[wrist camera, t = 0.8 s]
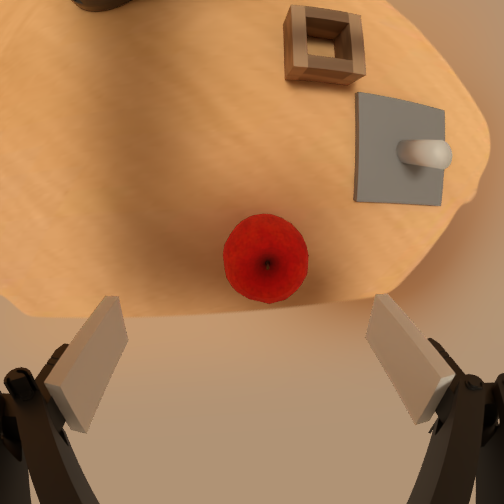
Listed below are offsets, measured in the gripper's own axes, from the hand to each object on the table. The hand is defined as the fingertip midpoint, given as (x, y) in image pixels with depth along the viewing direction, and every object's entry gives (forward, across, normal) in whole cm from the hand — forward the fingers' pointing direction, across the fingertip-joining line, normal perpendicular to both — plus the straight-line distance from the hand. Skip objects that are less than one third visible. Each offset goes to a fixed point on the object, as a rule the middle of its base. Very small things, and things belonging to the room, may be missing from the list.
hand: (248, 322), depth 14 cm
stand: (+24, +21, +9) cm, 33 cm away
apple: (+24, +2, -3) cm, 24 cm away
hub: (+24, +9, +21) cm, 33 cm away
